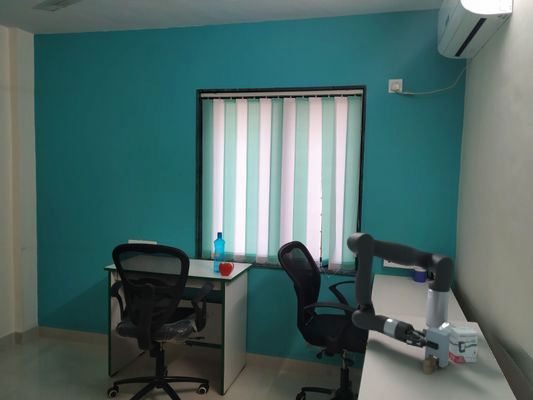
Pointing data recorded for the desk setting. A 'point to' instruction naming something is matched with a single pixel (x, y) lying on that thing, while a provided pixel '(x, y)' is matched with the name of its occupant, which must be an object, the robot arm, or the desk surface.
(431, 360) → the notched rail
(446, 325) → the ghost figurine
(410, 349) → the desk surface
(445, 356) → the notched block
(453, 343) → the ink box
